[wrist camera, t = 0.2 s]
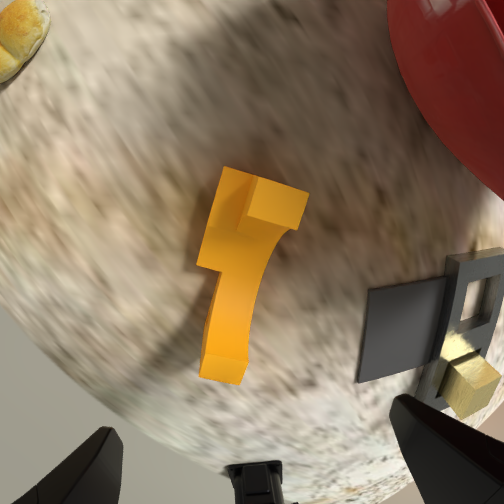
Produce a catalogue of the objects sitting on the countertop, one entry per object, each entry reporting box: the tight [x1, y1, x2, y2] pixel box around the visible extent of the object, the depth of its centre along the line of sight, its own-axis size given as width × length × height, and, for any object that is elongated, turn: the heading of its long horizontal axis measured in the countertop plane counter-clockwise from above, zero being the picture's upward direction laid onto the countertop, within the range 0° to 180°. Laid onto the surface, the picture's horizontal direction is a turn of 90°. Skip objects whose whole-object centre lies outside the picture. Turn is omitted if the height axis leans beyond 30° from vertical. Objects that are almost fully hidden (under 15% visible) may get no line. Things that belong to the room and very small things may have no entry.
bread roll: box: [0, 0, 51, 83], centre depth 12 cm, size 8×9×4 cm
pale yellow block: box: [438, 351, 502, 420], centre depth 24 cm, size 4×4×7 cm
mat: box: [357, 276, 447, 383], centre depth 24 cm, size 10×10×1 cm
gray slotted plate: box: [414, 247, 504, 411], centre depth 25 cm, size 20×9×2 cm, turn 5°
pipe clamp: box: [196, 166, 310, 385], centre depth 18 cm, size 12×4×6 cm, turn 163°
